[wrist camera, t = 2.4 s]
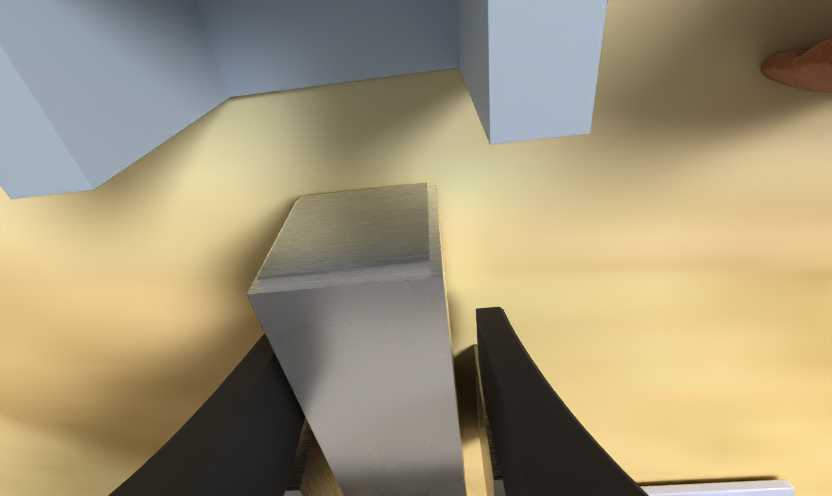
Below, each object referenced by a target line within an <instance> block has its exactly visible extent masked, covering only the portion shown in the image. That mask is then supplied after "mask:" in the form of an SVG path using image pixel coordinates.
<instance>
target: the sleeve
mask: <svg viewBox="0 0 832 496" xmlns="http://www.w3.org/2000/svg"><path fill="white" fill-rule="evenodd" d="M474 357H475V375H476V392H477V410H478V428H479V437H480V445H481V452H482V460H483V468H484V476H485V483H486V491H487V496H506V494H505V489H504V484H503V480H502V475H501V471H500V467H499V462H498V458H497V454H496V450H495V445H494V441H493V437H492V433H491V428H490V424H489V420H488V415H487V411H486V407H485V402H484V398H483V391H482V384H481V376H480V369H479V361H478V345H474ZM284 496H344V495H343V493H342V491H341V489H340V486H339V484H338V482H337V480H336V478H335V476H334V474H333V472H332V470H331V468H330V466H329V464H328V462H327V460H326V458H325V455H324V453H323V451H322V449H321V447H320V445H319V443H318V441H317V439H316V437H315V435H314V433H313V431H312V429H311V427H310V424H309V422H308V420H307V418H306V417H305V421H304V425H303V428H302V432H301V436H300V440H299V443H298V447H297V450H296V454H295V458H294V461H293V465H292V468H291V472H290V476H289V479H288V483H287V486H286V490H285V494H284Z"/></svg>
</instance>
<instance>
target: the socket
mask: <svg viewBox="0 0 832 496" xmlns="http://www.w3.org/2000/svg"><path fill="white" fill-rule="evenodd" d="M607 1H608V0H0V186H1V187H2V189H3V190H4V191H5V192H6V194H7V195H8V196H9V197H10V199H17V198H26V197H35V196H44V195H52V194H61V193H70V192H79V191H88V190H94V189H96V188H97V187H99V186H100V185H102V184H103V183H105V182H106V181H107V180H109V179H110V178H112V177H113V176H115V175H116V174H118V173H119V172H121V171H122V170H124V169H125V168H127V167H128V166H130V165H131V164H133V163H134V162H135V161H137V160H138V159H140V158H141V157H143V156H144V155H146V154H147V153H149V152H150V151H152V150H153V149H155V148H156V147H158V146H159V145H161V144H162V143H164V142H165V141H166V140H168V139H169V138H171V137H172V136H174V135H175V134H177V133H178V132H180V131H181V130H183V129H184V128H186V127H187V126H189V125H190V124H192V123H193V122H195V121H196V120H197V119H199V118H200V117H202V116H203V115H205V114H206V113H208V112H209V111H211V110H212V109H214V108H215V107H217V106H218V105H220V104H221V103H223V102H224V101H225V100H227V99H228V98H230V97H235V96H243V95H251V94H258V93H266V92H274V91H282V90H290V89H297V88H305V87H313V86H321V85H328V84H336V83H344V82H352V81H360V80H367V79H375V78H383V77H391V76H398V75H406V74H414V73H422V72H430V71H437V70H445V69H453V68H459V69H460V71H461V74H462V76H463V79H464V81H465V84H466V86H467V89H468V91H469V94H470V96H471V99H472V101H473V103H474V106H475V108H476V111H477V113H478V116H479V118H480V121H481V123H482V126H483V128H484V131H485V133H486V136H487V138H488V140H489V143H490V145H493V144H502V143H510V142H519V141H528V140H537V139H546V138H554V137H563V136H572V135H581V134H590V130H591V123H592V115H593V108H594V100H595V92H596V85H597V77H598V69H599V62H600V54H601V46H602V39H603V31H604V24H605V16H606V8H607Z"/></svg>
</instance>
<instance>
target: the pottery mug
mask: <svg viewBox="0 0 832 496" xmlns="http://www.w3.org/2000/svg"><path fill="white" fill-rule="evenodd" d="M761 71H762V72H763V73H764V75H765V76H766V77H768V78H769V79H772V80H775V81H778V82H781V83H783V84H786V85H789V86H793V87H796V88H801V89H805V90H811V91H819V92H828V93H832V38H829V39H827V40H825V41H823V42H821V43H819V44H817V45H815V46H814V47H812V48H811V49H809V50H808V51H807V50H790V51H783V52H779V53H775V54H773V55H771V56H769V57H768V58H767V59H766V60H765V62H764V63H763V65H762V66H761Z"/></svg>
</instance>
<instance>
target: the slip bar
mask: <svg viewBox="0 0 832 496" xmlns="http://www.w3.org/2000/svg"><path fill="white" fill-rule="evenodd" d="M247 296H248V298H249V301H250V303H251V305H252V307H253V309H254V311H255V313H256V315H257V317H258V319H259V321H260V323H261V325H262V327H263V329H264V332H265V334H266V336H267V338H268V340H269V342H270V344H271V346H272V348H273V350H274V352H275V354H276V356H277V358H278V360H279V363H280V365H281V367H282V369H283V371H284V373H285V375H286V377H287V379H288V381H289V383H290V385H291V387H292V389H293V391H294V394H295V396H296V398H297V400H298V402H299V404H300V406H301V408H302V410H303V412H304V414H305V416H306V418H307V420H308V422H309V424H310V427H311V429H312V431H313V433H314V435H315V437H316V439H317V441H318V443H319V445H320V447H321V449H322V451H323V453H324V455H325V458H326V460H327V462H328V464H329V466H330V468H331V470H332V472H333V474H334V476H335V478H336V480H337V482H338V484H339V486H340V489H341V491H342V493H343V495H344V496H467V490H466V479H465V468H464V457H463V447H462V437H461V427H460V417H459V407H458V398H457V388H456V378H455V368H454V358H453V348H452V339H451V329H450V319H449V309H448V299H447V290H446V280H445V270H444V260H443V250H442V240H441V231H440V221H439V211H438V201H437V191H436V186H429V187H427V183H419V184H410V185H401V186H391V187H382V188H373V189H364V190H354V191H345V192H336V193H326V194H317V195H308V196H300V197H299V199H298V201H296V202H295V204H294V206H293V208H292V210H291V212H290V213H289V215H288V217H287V219H286V221H285V223H284V225H283V227H282V228H281V230H280V232H279V234H278V236H277V238H276V240H275V242H274V244H273V245H272V247H271V249H270V251H269V253H268V255H267V257H266V259H265V261H264V262H263V264H262V266H261V268H260V270H259V272H258V274H257V276H256V277H255V279H254V281H253V283H252V285H251V287H250V289H249V291H248V293H247Z"/></svg>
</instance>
